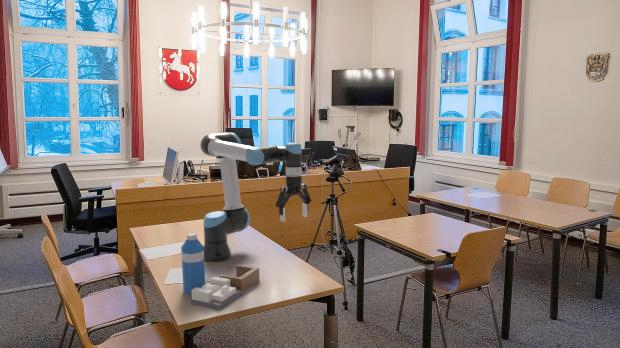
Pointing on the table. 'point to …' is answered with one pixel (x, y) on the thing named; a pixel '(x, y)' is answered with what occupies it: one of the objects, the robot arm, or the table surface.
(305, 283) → the table surface
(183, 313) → the table surface
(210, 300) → the tray of white blocks
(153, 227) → the table surface
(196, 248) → the water bottle
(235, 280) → the brown open crate
